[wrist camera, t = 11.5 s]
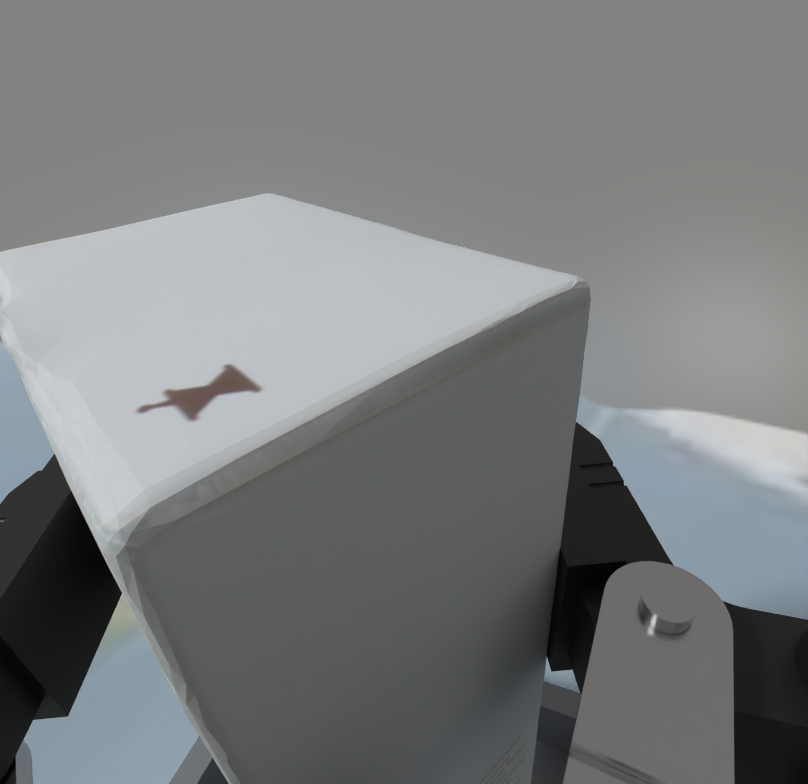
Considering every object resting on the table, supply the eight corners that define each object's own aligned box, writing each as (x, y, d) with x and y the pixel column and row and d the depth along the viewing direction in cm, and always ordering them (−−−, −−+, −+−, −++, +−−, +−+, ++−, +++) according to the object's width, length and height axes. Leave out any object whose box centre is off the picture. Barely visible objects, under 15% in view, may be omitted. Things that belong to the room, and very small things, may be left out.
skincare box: (532, 829, 11) (626, 277, 4) (366, 1037, 9) (66, 568, 2) (359, 628, 15) (274, 182, 8) (216, 738, 13) (-49, 255, 6)
